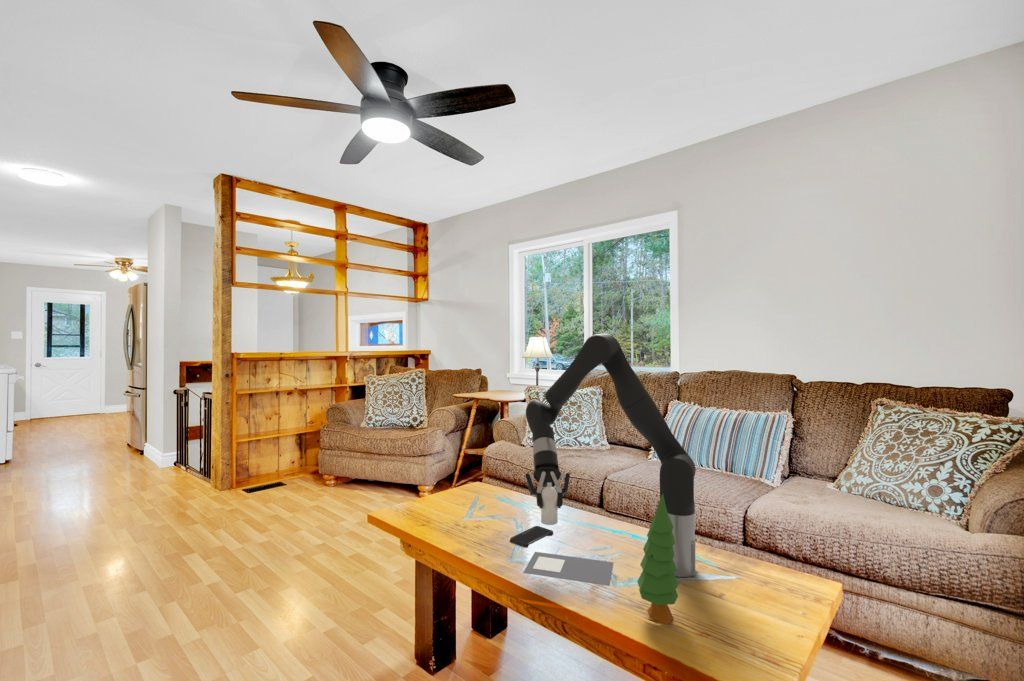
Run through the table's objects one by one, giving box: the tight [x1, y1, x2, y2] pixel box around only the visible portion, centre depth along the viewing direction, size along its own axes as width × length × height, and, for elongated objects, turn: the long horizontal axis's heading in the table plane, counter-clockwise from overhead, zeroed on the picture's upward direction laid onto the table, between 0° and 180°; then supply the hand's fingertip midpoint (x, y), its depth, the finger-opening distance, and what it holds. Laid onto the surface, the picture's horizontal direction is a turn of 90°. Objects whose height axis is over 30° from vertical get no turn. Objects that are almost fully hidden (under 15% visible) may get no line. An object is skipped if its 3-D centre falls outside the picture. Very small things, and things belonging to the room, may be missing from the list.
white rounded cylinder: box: [540, 482, 559, 526], centre depth 138 cm, size 5×5×12 cm
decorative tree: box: [637, 494, 680, 625], centre depth 114 cm, size 10×9×30 cm
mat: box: [522, 551, 614, 586], centre depth 137 cm, size 24×14×1 cm, turn 73°
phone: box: [509, 525, 554, 548], centre depth 159 cm, size 8×1×15 cm
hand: (550, 506), depth 137 cm, fingers closed on white rounded cylinder, 4 cm apart
